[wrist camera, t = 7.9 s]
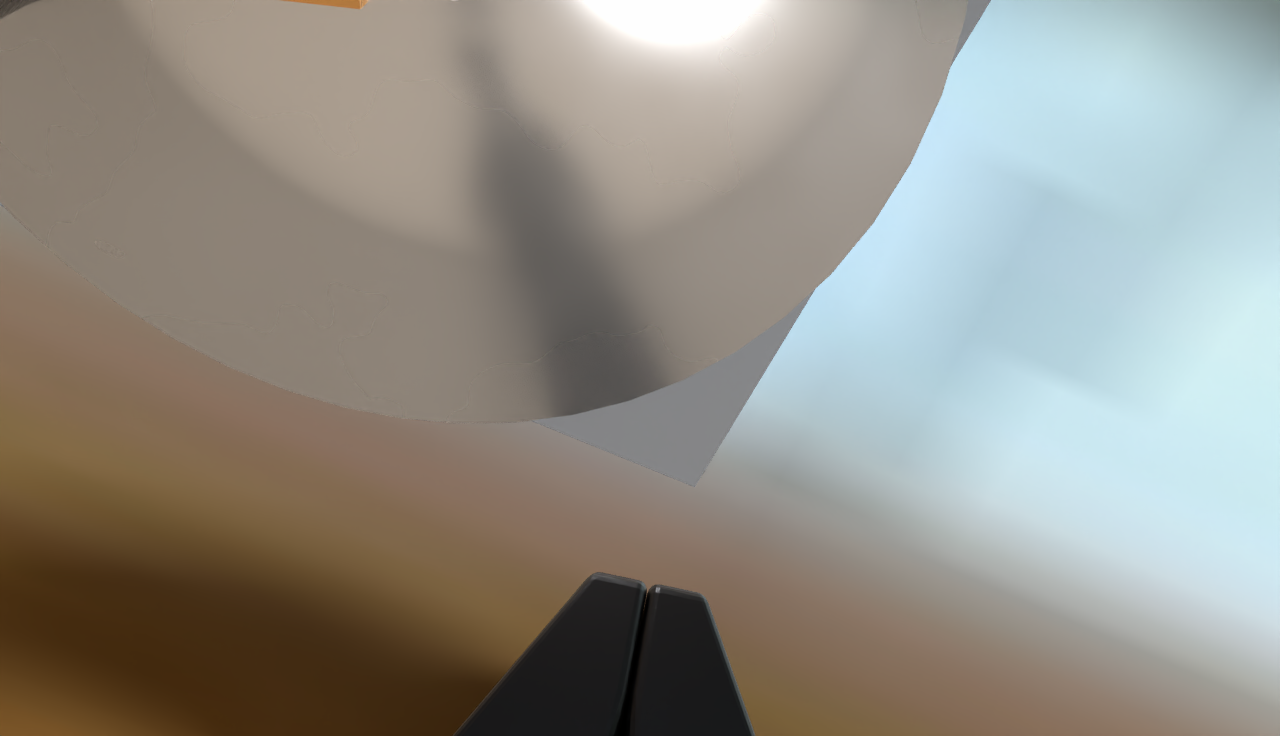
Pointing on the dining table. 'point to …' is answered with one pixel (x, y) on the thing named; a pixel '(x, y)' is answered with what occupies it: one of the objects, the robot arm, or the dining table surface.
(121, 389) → the dining table surface
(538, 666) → the robot arm
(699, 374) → the wheel base
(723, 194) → the handwheel
